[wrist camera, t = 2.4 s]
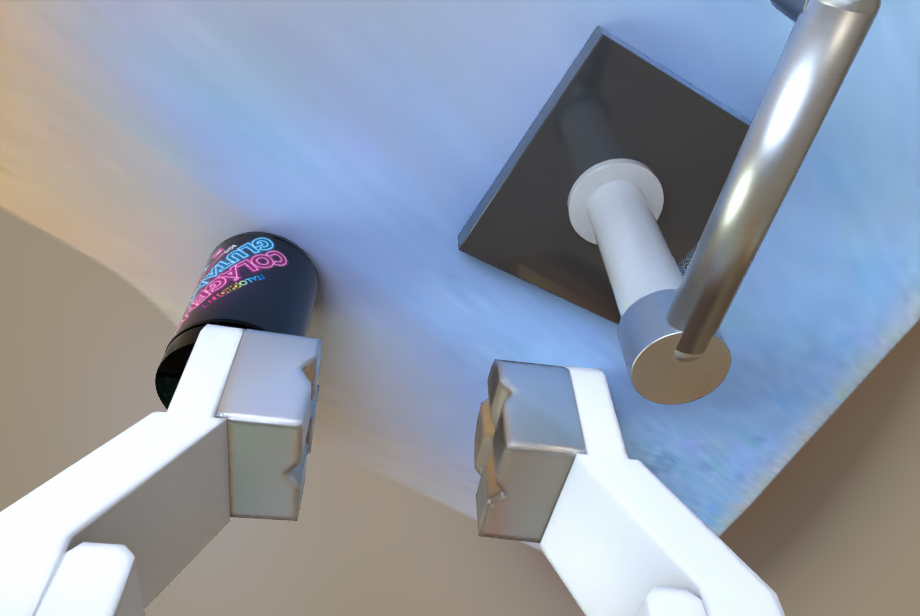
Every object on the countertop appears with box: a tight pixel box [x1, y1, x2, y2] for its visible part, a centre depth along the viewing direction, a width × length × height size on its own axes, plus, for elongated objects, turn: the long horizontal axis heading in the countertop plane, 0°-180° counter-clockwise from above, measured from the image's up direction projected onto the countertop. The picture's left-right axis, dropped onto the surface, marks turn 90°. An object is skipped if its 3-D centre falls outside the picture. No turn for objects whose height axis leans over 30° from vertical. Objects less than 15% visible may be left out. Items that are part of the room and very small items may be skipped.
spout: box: [617, 0, 881, 404], centre depth 26 cm, size 17×4×4 cm, turn 170°
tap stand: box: [458, 26, 751, 325], centre depth 36 cm, size 14×12×12 cm
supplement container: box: [155, 232, 318, 410], centre depth 40 cm, size 7×7×10 cm
